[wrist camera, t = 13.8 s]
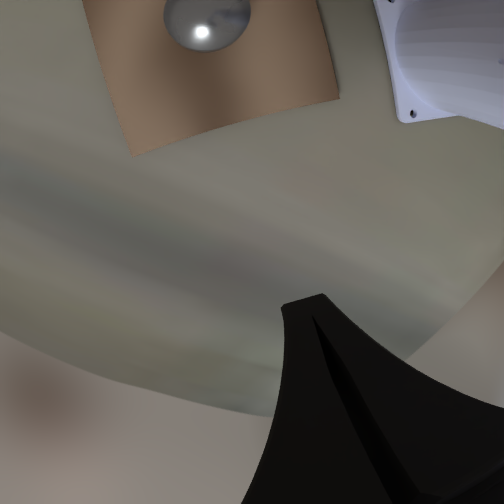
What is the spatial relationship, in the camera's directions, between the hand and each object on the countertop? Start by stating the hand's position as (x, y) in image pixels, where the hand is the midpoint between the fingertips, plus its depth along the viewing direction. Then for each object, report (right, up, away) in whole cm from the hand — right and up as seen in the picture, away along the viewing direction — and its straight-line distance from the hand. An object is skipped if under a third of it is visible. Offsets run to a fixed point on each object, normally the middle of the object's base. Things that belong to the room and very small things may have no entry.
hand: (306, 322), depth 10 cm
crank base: (-4, +13, +3) cm, 14 cm away
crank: (-4, +15, 0) cm, 15 cm away
